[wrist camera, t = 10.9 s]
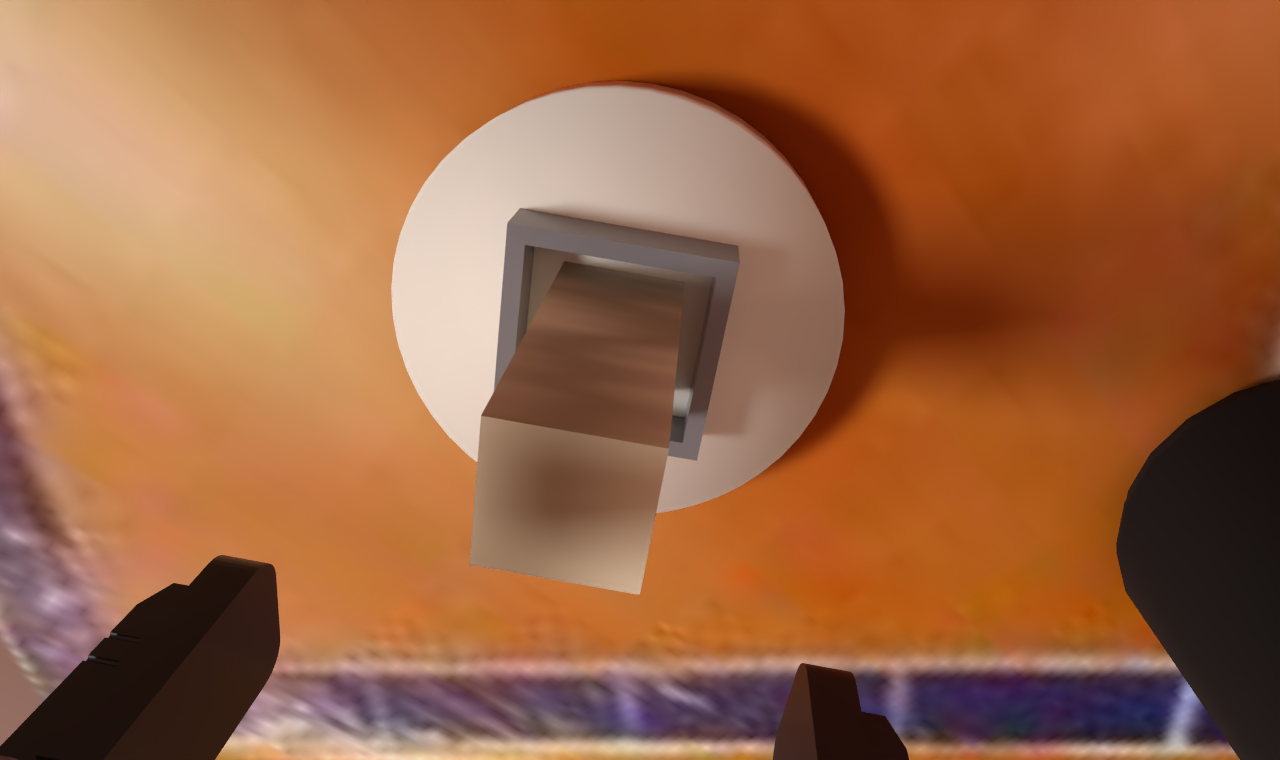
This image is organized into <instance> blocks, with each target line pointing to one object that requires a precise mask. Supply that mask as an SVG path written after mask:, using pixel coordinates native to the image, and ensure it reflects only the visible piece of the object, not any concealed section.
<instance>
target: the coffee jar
mask: <svg viewBox="0 0 1280 760" xmlns="http://www.w3.org/2000/svg"><path fill="white" fill-rule="evenodd" d="M1116 545H1117V556H1118V561H1119V565H1120V569H1121V574H1122V578H1123V582H1124V587H1125V591H1126V593H1127V594H1128V596H1129V597H1130V599H1131V600H1132V602H1133V603H1134V605H1135V606H1136V607H1137V609H1138V610H1139V612H1140V613H1141V615H1142V616H1143V618H1144V619H1145V621H1146V622H1147V624H1148V625H1149V627H1150V628H1151V629H1152V631H1153V632H1154V634H1155V635H1156V637H1157V638H1158V640H1159V641H1160V643H1161V644H1162V646H1163V647H1164V649H1165V650H1166V651H1167V653H1168V654H1169V656H1170V657H1171V659H1172V660H1173V662H1174V663H1175V665H1176V666H1177V668H1178V669H1179V671H1180V672H1181V673H1182V675H1183V676H1184V678H1185V679H1186V681H1187V682H1188V684H1189V685H1190V687H1191V688H1192V690H1193V691H1194V693H1195V694H1196V695H1197V697H1198V698H1199V700H1200V701H1201V703H1202V704H1203V706H1204V707H1205V709H1206V710H1207V712H1208V713H1209V715H1210V716H1211V717H1212V719H1213V720H1214V722H1215V723H1216V725H1217V726H1218V728H1219V729H1220V731H1221V732H1222V734H1223V735H1224V737H1225V738H1226V739H1227V741H1228V742H1229V744H1230V745H1231V747H1232V748H1233V750H1234V751H1235V753H1236V754H1237V756H1238V757H1239V759H1240V760H1280V380H1277V381H1274V382H1270V383H1267V384H1263V385H1260V386H1257V387H1253V388H1250V389H1246V390H1243V391H1239V392H1236V393H1233V394H1231V395H1230V396H1228V397H1226V398H1224V399H1223V400H1221V401H1219V402H1217V403H1215V404H1214V405H1212V406H1210V407H1208V408H1207V409H1205V410H1203V411H1201V412H1199V413H1198V414H1196V415H1194V416H1192V417H1191V418H1189V419H1187V420H1186V421H1185V422H1184V423H1183V424H1182V425H1181V426H1179V427H1178V428H1177V429H1176V430H1175V431H1174V432H1173V433H1172V434H1171V435H1170V436H1169V437H1168V438H1167V439H1166V440H1164V441H1163V442H1162V443H1161V444H1160V445H1159V446H1158V447H1157V448H1156V449H1155V450H1154V451H1153V452H1152V453H1151V454H1150V456H1149V457H1148V459H1147V460H1146V462H1145V464H1144V465H1143V467H1142V469H1141V470H1140V472H1139V474H1138V475H1137V477H1136V479H1135V480H1134V482H1133V484H1132V485H1131V487H1130V489H1129V490H1128V495H1127V499H1126V501H1125V503H1124V508H1123V513H1122V518H1121V523H1120V528H1119V533H1118V538H1117V543H1116Z"/></svg>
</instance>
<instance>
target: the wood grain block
mask: <svg viewBox="0 0 1280 760" xmlns="http://www.w3.org/2000/svg"><path fill="white" fill-rule="evenodd" d="M684 286H685V282H680V281H674V280H669V279H663V278H657V277H652V276H646V275H640V274H635V273H629V272H623V271H617V270H612V269H606V268H600V267H595V266H589V265H583V264H578V263H572V262H566V261H564V263H563V265H562V266H561V268H560V270H559V272H558V274H557V276H556V278H555V279H554V281H553V283H552V285H551V287H550V289H549V291H548V292H547V294H546V296H545V298H544V300H543V302H542V304H541V305H540V307H539V309H538V311H537V313H536V315H535V316H534V318H533V320H532V322H531V324H530V326H529V328H528V329H527V331H526V333H525V335H524V337H523V339H522V341H521V342H520V344H519V346H518V348H517V350H516V352H515V354H514V355H513V357H512V359H511V361H510V363H509V365H508V366H507V368H506V370H505V372H504V374H503V376H502V378H501V379H500V381H499V383H498V385H497V387H496V389H495V391H494V392H493V394H492V396H491V398H490V400H489V402H488V404H487V405H486V407H485V409H484V411H483V413H482V415H481V421H480V434H479V447H478V461H477V474H476V487H475V500H474V513H473V526H472V540H471V553H470V565H474V566H480V567H485V568H491V569H497V570H502V571H508V572H514V573H519V574H525V575H530V576H536V577H542V578H547V579H553V580H559V581H564V582H570V583H576V584H581V585H587V586H592V587H598V588H604V589H609V590H615V591H621V592H626V593H632V594H638V595H640V591H641V586H642V581H643V576H644V571H645V566H646V561H647V556H648V551H649V546H650V541H651V536H652V531H653V526H654V521H655V516H656V511H657V506H658V501H659V496H660V491H661V486H662V481H663V476H664V471H665V466H666V461H667V456H668V451H669V443H670V433H671V422H672V412H673V401H674V391H675V381H676V370H677V360H678V349H679V339H680V328H681V318H682V307H683V297H684Z"/></svg>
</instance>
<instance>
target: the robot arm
mask: <svg viewBox="0 0 1280 760" xmlns="http://www.w3.org/2000/svg"><path fill="white" fill-rule="evenodd" d="M279 647H280V627H279V613H278V598H277V583H276V572H275V569H274V567H273V565H271V564H268V563H263V562H258V561H252V560H247V559H241V558H236V557H230V556H225V555H220V556H218V557H216V558H214V559H213V560H212V561H211V562H210V563H209V564H208V565H207V566H206V567H205V568H204V569H203V571H202V572H201V573H200V574H199V575H198V576H197V577H196V578H195V579H194V580H193V582H192V583H191V584H190V585H189V586H187V585H181V584H176V583H173V584H171V585H170V586H168V587H166V588H165V589H163V590H161V591H159V592H158V593H156V594H154V595H152V596H151V597H149V598H147V599H146V600H144V601H142V602H140V603H139V604H137V605H136V606H135V607H134V608H133V609H132V610H131V611H130V612H129V613H128V614H127V615H126V617H125V618H124V619H123V620H122V621H121V622H120V623H119V624H118V625H117V626H116V627H115V628H114V629H113V630H112V631H111V633H110V636H109V638H104V639H103V640H102V641H101V642H100V643H99V645H98V646H97V647H96V648H95V649H94V650H93V651H92V652H91V653H90V654H89V656H88V659H87V660H86V661H82V662H81V663H80V664H79V665H78V666H77V667H76V668H75V669H74V670H73V671H72V673H71V674H70V675H69V676H68V677H67V678H66V679H65V680H64V681H63V682H62V683H61V684H60V685H59V686H58V687H57V688H56V689H55V690H54V691H53V692H52V693H51V694H50V695H49V696H48V697H47V698H46V700H45V701H44V702H43V703H42V704H41V705H40V706H39V707H38V708H37V709H36V710H35V711H34V712H33V713H32V714H31V715H30V716H29V717H28V718H27V719H26V720H25V721H24V723H22V724H21V726H19V728H18V729H17V730H16V731H15V732H14V733H13V734H12V735H11V736H10V737H9V738H8V739H7V740H6V741H5V742H4V743H3V744H2V745H1V746H0V760H215V759H216V757H217V756H218V754H219V753H220V751H221V750H222V748H223V747H224V745H225V744H226V742H227V741H228V739H229V738H230V736H231V735H232V733H233V732H234V730H235V729H236V727H237V726H238V724H239V723H240V721H241V720H242V718H243V717H244V715H245V714H246V712H247V711H248V709H249V708H250V706H251V705H252V703H253V702H254V700H255V699H256V697H257V696H258V694H259V693H260V691H261V690H262V688H263V687H264V685H265V684H266V682H267V681H268V679H269V677H270V675H271V673H272V671H273V668H274V666H275V663H276V660H277V656H278V652H279ZM773 760H909V757H908V753H907V749H906V747H905V746H904V744H903V743H902V741H901V740H900V738H899V737H898V735H897V734H896V732H895V731H894V729H893V728H892V726H891V724H890V723H889V721H888V720H887V718H886V717H885V716H882V715H876V714H871V713H865V712H861V707H860V702H859V697H858V691H857V686H856V681H855V678H854V675H853V674H852V673H851V672H848V671H843V670H837V669H832V668H826V667H821V666H815V665H810V664H804V663H802V664H800V666H799V668H798V670H797V672H796V675H795V679H794V682H793V685H792V688H791V691H790V694H789V697H788V701H787V704H786V707H785V710H784V713H783V716H782V719H781V723H780V726H779V729H778V732H777V736H776V741H775V747H774V754H773Z"/></svg>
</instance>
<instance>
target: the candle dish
mask: <svg viewBox="0 0 1280 760" xmlns="http://www.w3.org/2000/svg"><path fill="white" fill-rule="evenodd" d="M564 261H566V262H572V263H578V264H583V265H589V266H595V267H600V268H606V269H612V270H617V271H623V272H629V273H635V274H640V275H646V276H652V277H657V278H663V279H669V280H674V281H680V282H685V286H684V297H683V307H682V318H681V328H680V339H679V349H678V360H677V370H676V381H675V391H674V401H673V412H672V422H671V433H670V443H669V451H668V456H667V461H666V466H665V471H664V476H663V481H662V486H661V491H660V496H659V501H658V506H657V511H656V513H660V512H667V511H672V510H677V509H681V508H686V507H691V506H694V505H697V504H700V503H702V502H705V501H708V500H711V499H714V498H717V497H719V496H721V495H723V494H725V493H727V492H729V491H732V490H734V489H736V488H738V487H740V486H741V485H743V484H744V483H746V482H748V481H749V480H751V479H752V478H754V477H756V476H757V475H759V474H760V473H762V472H763V471H764V470H765V469H767V468H768V467H769V466H770V465H771V464H773V463H774V462H775V461H776V460H778V459H779V458H780V457H781V456H782V455H783V454H784V453H785V452H786V451H787V450H788V449H789V448H790V447H791V446H792V445H793V444H794V442H795V441H796V440H797V439H798V438H799V437H800V436H801V434H802V433H803V432H804V430H805V429H806V427H807V426H808V425H809V423H810V422H811V421H812V419H813V418H814V416H815V415H816V413H817V411H818V409H819V407H820V405H821V404H822V402H823V400H824V398H825V396H826V394H827V392H828V390H829V387H830V384H831V382H832V379H833V376H834V373H835V371H836V368H837V364H838V360H839V355H840V351H841V346H842V341H843V331H844V317H845V306H844V292H843V281H842V276H841V272H840V267H839V263H838V258H837V254H836V251H835V248H834V246H833V243H832V240H831V238H830V235H829V232H828V230H827V227H826V224H825V222H824V220H823V218H822V216H821V214H820V212H819V210H818V208H817V206H816V204H815V202H814V200H813V198H812V196H811V195H810V193H809V191H808V189H807V187H806V185H805V184H804V182H803V180H802V179H801V178H800V176H799V175H798V174H797V172H796V171H795V170H794V168H793V167H792V166H791V164H790V163H789V162H788V160H787V159H786V157H785V156H784V155H783V154H782V153H781V152H780V151H779V150H778V149H777V148H776V147H775V146H774V145H773V144H772V143H771V142H770V141H769V140H768V139H767V138H766V137H765V136H764V135H762V134H761V133H760V132H758V131H757V130H756V129H754V128H753V127H752V126H750V125H749V124H748V123H747V122H745V121H744V120H743V119H741V118H740V117H738V116H736V115H735V114H733V113H731V112H729V111H728V110H726V109H724V108H722V107H720V106H719V105H717V104H715V103H713V102H711V101H708V100H706V99H703V98H701V97H698V96H696V95H693V94H691V93H688V92H686V91H682V90H678V89H674V88H670V87H666V86H662V85H658V84H653V83H643V82H633V81H600V82H589V83H583V84H578V85H572V86H567V87H562V88H559V89H556V90H553V91H550V92H547V93H544V94H541V95H538V96H535V97H533V98H531V99H529V100H527V101H525V102H523V103H521V104H519V105H517V106H515V107H513V108H511V109H509V110H507V111H505V112H504V113H502V114H501V115H499V116H497V117H496V118H494V119H492V120H491V121H489V122H488V123H486V124H485V125H483V126H482V127H481V128H479V129H478V130H476V131H475V132H473V133H472V134H471V135H469V136H468V137H466V138H465V139H464V140H463V141H462V142H461V143H460V144H459V145H458V146H456V147H455V148H454V149H453V150H452V151H451V152H450V153H449V154H448V155H447V156H446V157H445V158H444V159H443V160H442V161H441V162H440V164H439V165H438V166H437V168H436V169H435V170H434V171H433V173H432V174H431V175H430V177H429V178H428V179H427V180H426V182H425V183H424V185H423V187H422V188H421V190H420V192H419V194H418V195H417V197H416V199H415V201H414V202H413V204H412V206H411V208H410V210H409V213H408V215H407V218H406V220H405V223H404V226H403V228H402V231H401V233H400V237H399V241H398V245H397V250H396V254H395V259H394V265H393V277H392V288H391V291H392V309H393V320H394V325H395V330H396V336H397V341H398V345H399V348H400V351H401V354H402V357H403V360H404V363H405V366H406V369H407V371H408V373H409V376H410V378H411V380H412V382H413V384H414V386H415V388H416V390H417V392H418V394H419V396H420V397H421V399H422V400H423V402H424V404H425V405H426V407H427V408H428V410H429V411H430V413H431V415H432V416H433V417H434V419H435V420H436V421H437V422H438V424H439V425H440V426H441V427H442V428H443V430H444V431H445V432H446V433H447V435H448V436H449V437H450V438H451V439H452V440H453V441H454V442H455V443H456V444H457V445H458V446H459V447H460V448H461V449H462V450H463V451H464V452H466V453H467V454H468V455H469V456H470V457H471V458H473V459H474V460H475V461H476V462H477V461H478V447H479V434H480V421H481V415H482V413H483V411H484V409H485V407H486V405H487V404H488V402H489V400H490V398H491V396H492V394H493V392H494V391H495V389H496V387H497V385H498V383H499V381H500V379H501V378H502V376H503V374H504V372H505V370H506V368H507V366H508V365H509V363H510V361H511V359H512V357H513V355H514V354H515V352H516V350H517V348H518V346H519V344H520V342H521V341H522V339H523V337H524V335H525V333H526V331H527V329H528V328H529V326H530V324H531V322H532V320H533V318H534V316H535V315H536V313H537V311H538V309H539V307H540V305H541V304H542V302H543V300H544V298H545V296H546V294H547V292H548V291H549V289H550V287H551V285H552V283H553V281H554V279H555V278H556V276H557V274H558V272H559V270H560V268H561V266H562V265H563V263H564Z"/></svg>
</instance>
